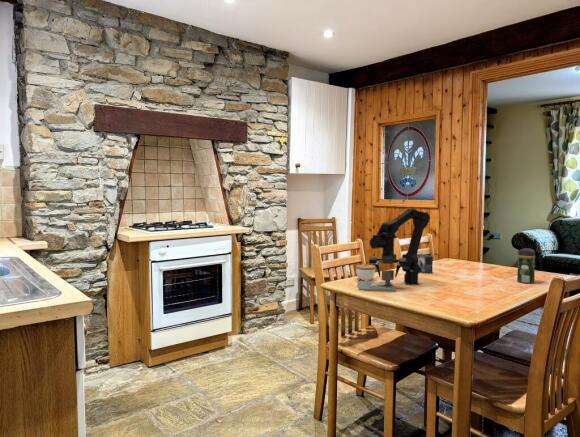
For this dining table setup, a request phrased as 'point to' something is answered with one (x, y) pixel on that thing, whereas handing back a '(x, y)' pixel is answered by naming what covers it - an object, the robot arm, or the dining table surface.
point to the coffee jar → (526, 265)
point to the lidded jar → (365, 271)
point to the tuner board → (366, 286)
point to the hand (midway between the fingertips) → (387, 277)
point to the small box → (425, 263)
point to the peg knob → (386, 278)
